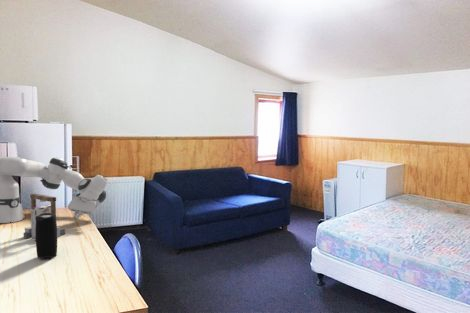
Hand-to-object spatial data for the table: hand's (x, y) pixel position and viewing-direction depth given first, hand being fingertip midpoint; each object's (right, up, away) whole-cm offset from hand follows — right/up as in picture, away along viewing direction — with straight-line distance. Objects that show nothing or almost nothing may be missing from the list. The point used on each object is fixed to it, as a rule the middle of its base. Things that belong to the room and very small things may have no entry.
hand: (74, 218), depth 207 cm
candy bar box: (-9, -7, -16) cm, 20 cm away
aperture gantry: (-9, -7, -16) cm, 20 cm away
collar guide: (-9, -7, -15) cm, 19 cm away
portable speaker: (+7, -10, -44) cm, 46 cm away
